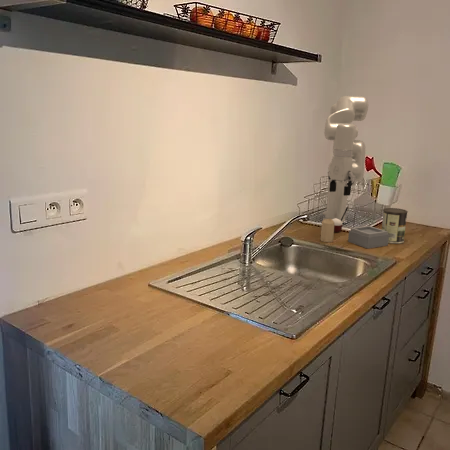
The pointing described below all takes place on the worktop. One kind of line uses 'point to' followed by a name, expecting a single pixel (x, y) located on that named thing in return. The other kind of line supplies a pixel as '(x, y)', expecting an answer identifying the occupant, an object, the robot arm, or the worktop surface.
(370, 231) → the pedestal
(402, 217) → the coffee can
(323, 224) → the candle
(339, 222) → the cocoa
